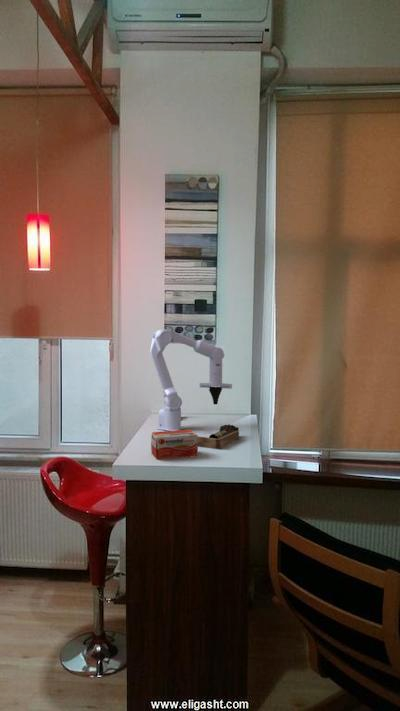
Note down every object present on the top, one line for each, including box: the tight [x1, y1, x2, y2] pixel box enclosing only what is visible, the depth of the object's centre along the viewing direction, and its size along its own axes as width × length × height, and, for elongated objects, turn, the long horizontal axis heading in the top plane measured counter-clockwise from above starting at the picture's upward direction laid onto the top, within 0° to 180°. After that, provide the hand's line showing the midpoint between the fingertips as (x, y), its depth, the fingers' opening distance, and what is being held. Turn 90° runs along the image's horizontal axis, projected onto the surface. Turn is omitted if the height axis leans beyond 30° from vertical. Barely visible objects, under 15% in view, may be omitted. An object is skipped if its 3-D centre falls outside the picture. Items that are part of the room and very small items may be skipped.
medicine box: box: [150, 429, 199, 460], centre depth 173 cm, size 15×8×8 cm, turn 108°
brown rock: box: [208, 424, 240, 439], centre depth 195 cm, size 18×7×6 cm, turn 147°
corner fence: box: [198, 430, 240, 450], centre depth 192 cm, size 13×18×4 cm
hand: (215, 404), depth 220 cm, fingers closed
